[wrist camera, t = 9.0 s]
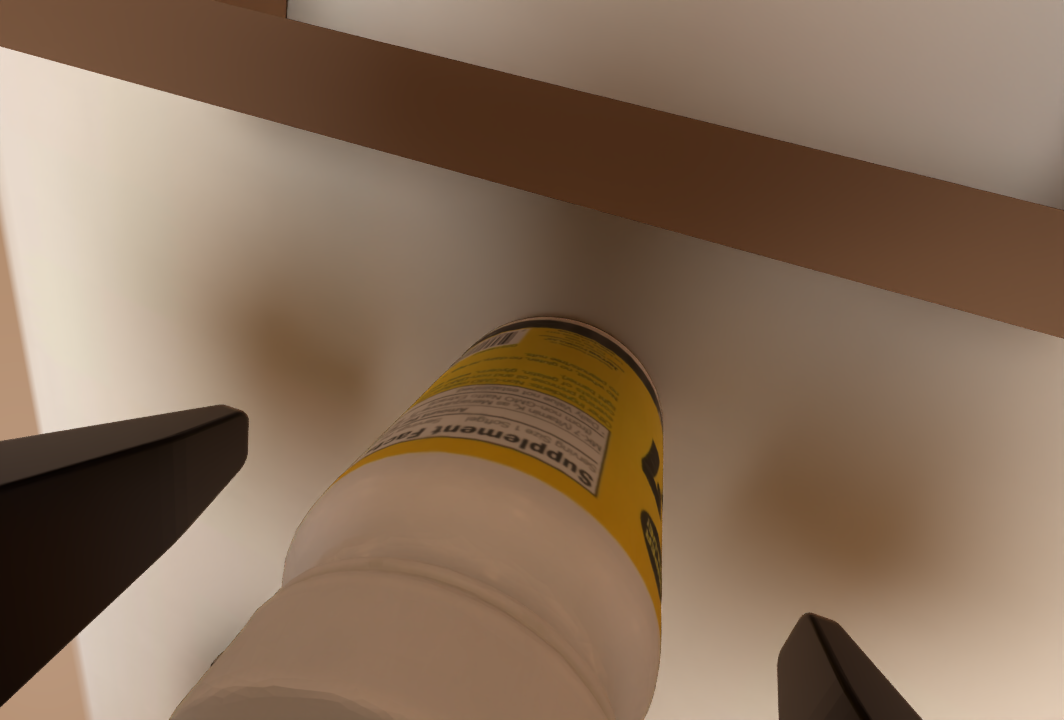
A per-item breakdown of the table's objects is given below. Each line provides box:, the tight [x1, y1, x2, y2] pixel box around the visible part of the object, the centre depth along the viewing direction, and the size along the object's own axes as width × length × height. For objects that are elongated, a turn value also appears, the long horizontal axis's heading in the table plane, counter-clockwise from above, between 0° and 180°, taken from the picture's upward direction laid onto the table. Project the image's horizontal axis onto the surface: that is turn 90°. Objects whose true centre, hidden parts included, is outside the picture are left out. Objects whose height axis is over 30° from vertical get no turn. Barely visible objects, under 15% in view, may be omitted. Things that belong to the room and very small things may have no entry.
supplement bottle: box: [169, 317, 663, 720], centre depth 8 cm, size 5×5×8 cm
